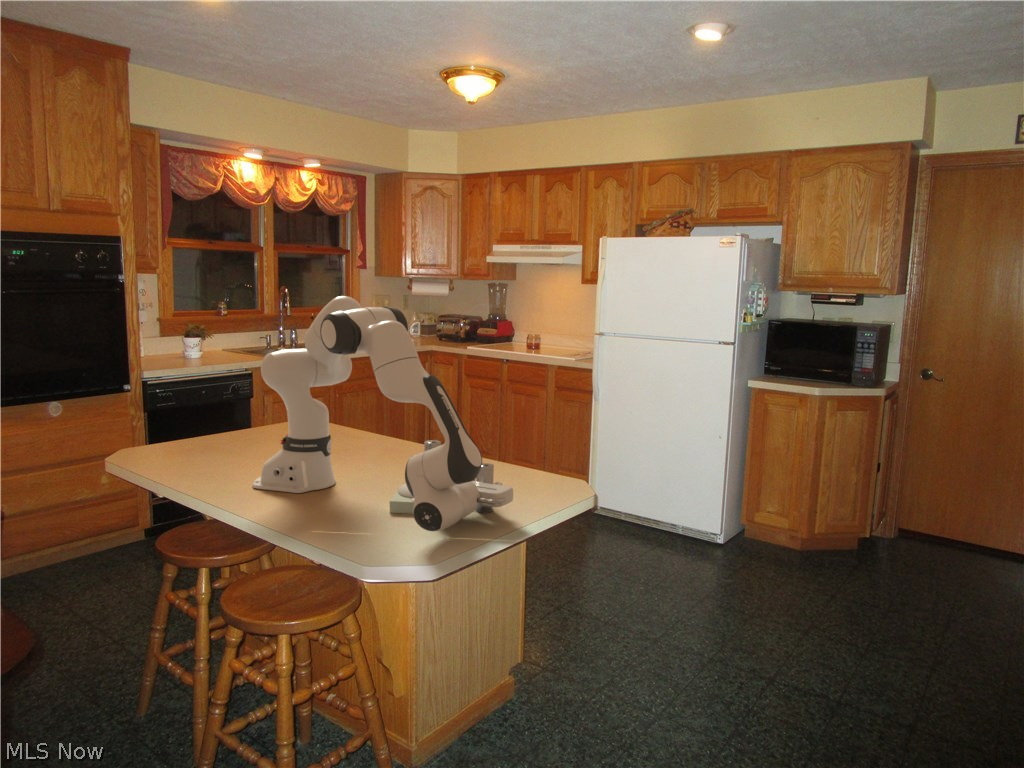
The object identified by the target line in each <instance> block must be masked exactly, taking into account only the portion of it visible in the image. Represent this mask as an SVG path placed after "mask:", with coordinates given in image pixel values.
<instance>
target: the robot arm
mask: <svg viewBox="0 0 1024 768" xmlns="http://www.w3.org/2000/svg"><path fill="white" fill-rule="evenodd" d="M303 342H304V347H302V348H301V347H300V348H299V347H298V348H285V349H284V348H283V349H279V350H276V351H273V352H269V353H267V354H266V355H265V356H264V357H263V359H262V360H261V365H260V375H261V378H262V380H263V381H264V383H265V384H266V385H267V386H268V387H269V388H271V389H272V390H273V391H275V392H276V393H277V394H278V395H279V397H280V398H281V399H282V401H283V403H284V405H285V409H286V414H287V423H288V424H287V425H288V433H287V434H285V436H284V437H283V438H282V439H281V440H280V443H279V444H280V445H282V448H281V449H280V450H279V451H277V452H276V453H275V454H273V455H272V456H270V457H269V459H267V460H266V461H265V462H264V463H263V465H262V467H261V468H262V469H261V474H260V476H259V477H257V478H256V479H255V480H253V483H252V487H253V489H256V490H257V489H258V490H264V491H266V490H267V491H274V492H275V491H277V492H284V493H293V494H302V493H306V492H307V493H308V492H310V491H317V490H323V489H326V488H327V489H328V488H329V487H332V486H334V485H335V484H336V483H337V482H336V479H335V475H334V471H333V466H332V465H333V464H332V461H331V454H332V439H331V438H332V437H331V434H330V416H329V415H330V413H329V412H330V411H329V409H328V406H327V405H326V404H325V403H323V402H322V401H320V400H318V399H316V398H314V397H313V396H312V394H311V388H314V387H327V386H333V385H337V384H340V383H343V382H346V381H347V380H348V379H349V378H350V376H351V374H352V370H353V362H352V359H351V357H350V355H352V354H353V355H354V354H367V355H368V356H369V359H370V362H371V366H372V370H373V373H374V377H375V380H376V384H377V386H378V388H379V390H380V392H381V393H382V394H383V395H384V396H385V397H386V398H387V399H389V400H392V401H394V402H397V403H406V404H410V403H411V404H413V403H415V404H421V405H424V406H425V407H427V408H428V409H429V410H430V412H431V414H432V416H433V418H434V420H435V422H436V425H438V428H439V430H440V432H441V435H443V438H444V443H443V444H441V445H440V446H438V447H435V448H433V449H430V450H427V451H422V452H419V453H417V454H414V455H412V456H410V457H409V458H408V460H407V462H406V465H405V467H404V468H405V469H404V480H405V483H406V485H407V487H408V490H409V491H410V493H411V495H412V496H413V498H414V507H413V514H412V515H413V518H414V521H415V523H416V524H417V525H418V526H419V527H420V528H422V529H423V530H425V531H428V532H439V531H444V530H445V529H447V528H450V527H451V526H453V525H455V524H456V523H458V521H460V520H462V519H464V518H466V517H467V516H468V515H470V514H472V513H474V512H476V509H477V508H478V506H479V505H484V506H490V507H493V508H501V507H504V506H506V505H508V504H510V503H511V502H513V500H514V489H513V487H512V486H509V485H503V482H499V481H496V482H493V484H490V483H484V482H477V481H476V477H477V476H478V474H479V472H480V470H481V466H482V463H483V457H482V453H481V451H480V448H479V447H478V445H477V444H476V443H475V442H474V440H473V438H472V437H471V436H470V434H469V432H468V431H467V429H466V427H465V425H464V423H463V421H462V419H461V417H460V415H459V413H458V411H457V409H456V407H455V405H454V403H453V401H452V399H451V397H450V396H449V393H448V392H447V390H446V388H445V387H444V385H443V383H442V382H441V380H440V379H439V378H438V377H437V376H436V375H432V374H430V373H428V372H427V371H426V370H425V368H424V367H423V365H422V362H421V360H420V357H419V354H418V350H417V348H416V346H415V344H414V341H413V340H412V338H411V335H410V334H409V326H408V321H407V318H406V316H405V314H404V313H403V311H401V310H400V309H399V308H395V307H392V306H381V307H380V306H379V307H374V306H369V307H368V306H367V307H366V306H365V307H362V305H361V304H360V303H359V301H358V300H356V299H354V298H353V297H351V296H348V295H340V296H339V295H338V296H336V297H334V298H332V300H330V301H329V302H328V303H327V304H326V305H325V306H324V307H323V308H322V309H321V310H320V311H319V312H318V314H317V316H316V317H315V318H314V320H313V322H311V325H310V327H308V329H307V331H306V332H305V334H304V339H303Z"/></svg>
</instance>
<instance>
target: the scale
mask: <svg viewBox="0 0 1024 768" xmlns="http://www.w3.org/2000/svg"><path fill="white" fill-rule="evenodd" d="M413 507H414V498H413V496H412V495H411V493H410V491H409V490H408V487H407V485H406V482H405V483H403V484H402V485H400V486H399V487H398V488H397V491H396V493H395V494H394V495H393V496H392V498H391V499H390V500H389V513H392V514H410V515H411V514H412V515H413Z"/></svg>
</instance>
